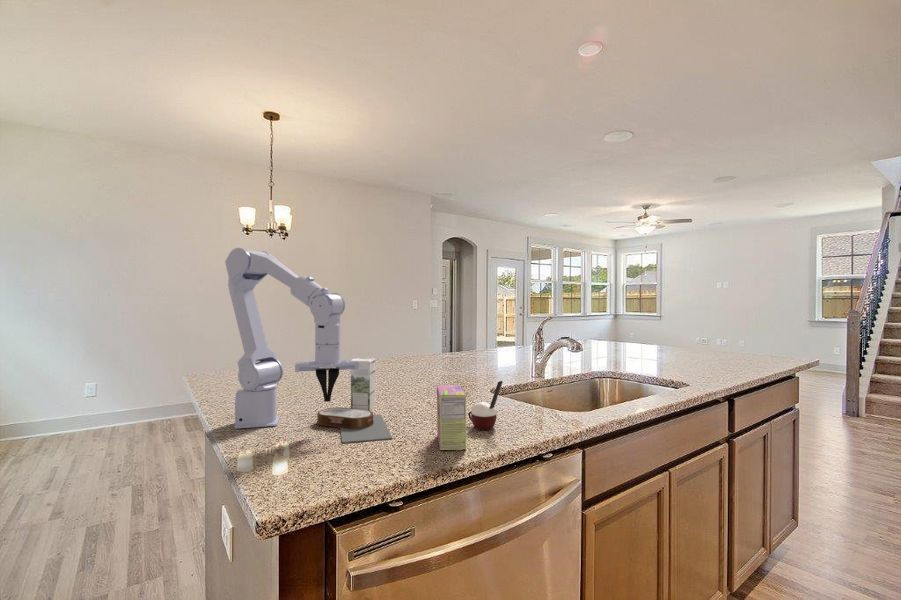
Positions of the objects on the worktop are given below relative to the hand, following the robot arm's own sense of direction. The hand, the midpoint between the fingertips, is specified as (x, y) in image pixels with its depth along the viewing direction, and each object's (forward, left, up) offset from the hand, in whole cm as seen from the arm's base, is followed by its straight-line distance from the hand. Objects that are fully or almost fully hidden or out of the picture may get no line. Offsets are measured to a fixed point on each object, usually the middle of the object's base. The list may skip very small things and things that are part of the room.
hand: (327, 400), depth 103 cm
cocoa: (+37, -8, -8) cm, 39 cm away
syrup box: (+10, +18, -8) cm, 22 cm away
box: (+26, -16, -8) cm, 32 cm away
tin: (+2, +1, -5) cm, 6 cm away
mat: (+9, 0, -7) cm, 11 cm away
